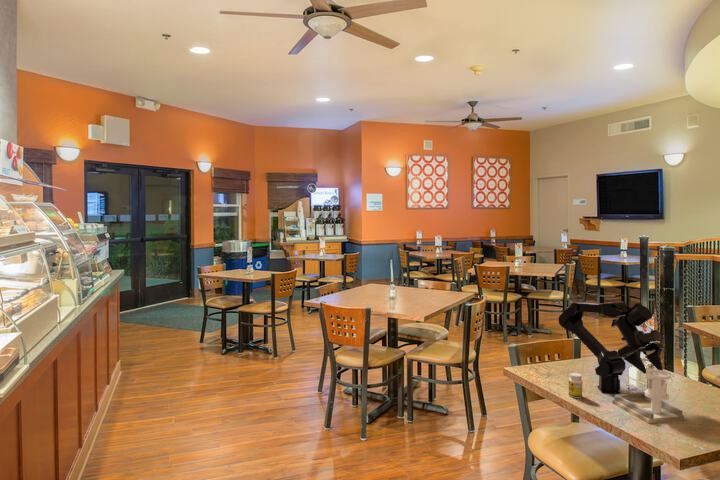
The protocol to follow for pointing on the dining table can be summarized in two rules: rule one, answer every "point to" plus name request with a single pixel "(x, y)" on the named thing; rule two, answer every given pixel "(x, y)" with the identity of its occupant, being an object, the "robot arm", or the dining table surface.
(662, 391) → the beige tall round piece
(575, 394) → the supplement bottle
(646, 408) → the rail board
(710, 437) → the dining table surface
